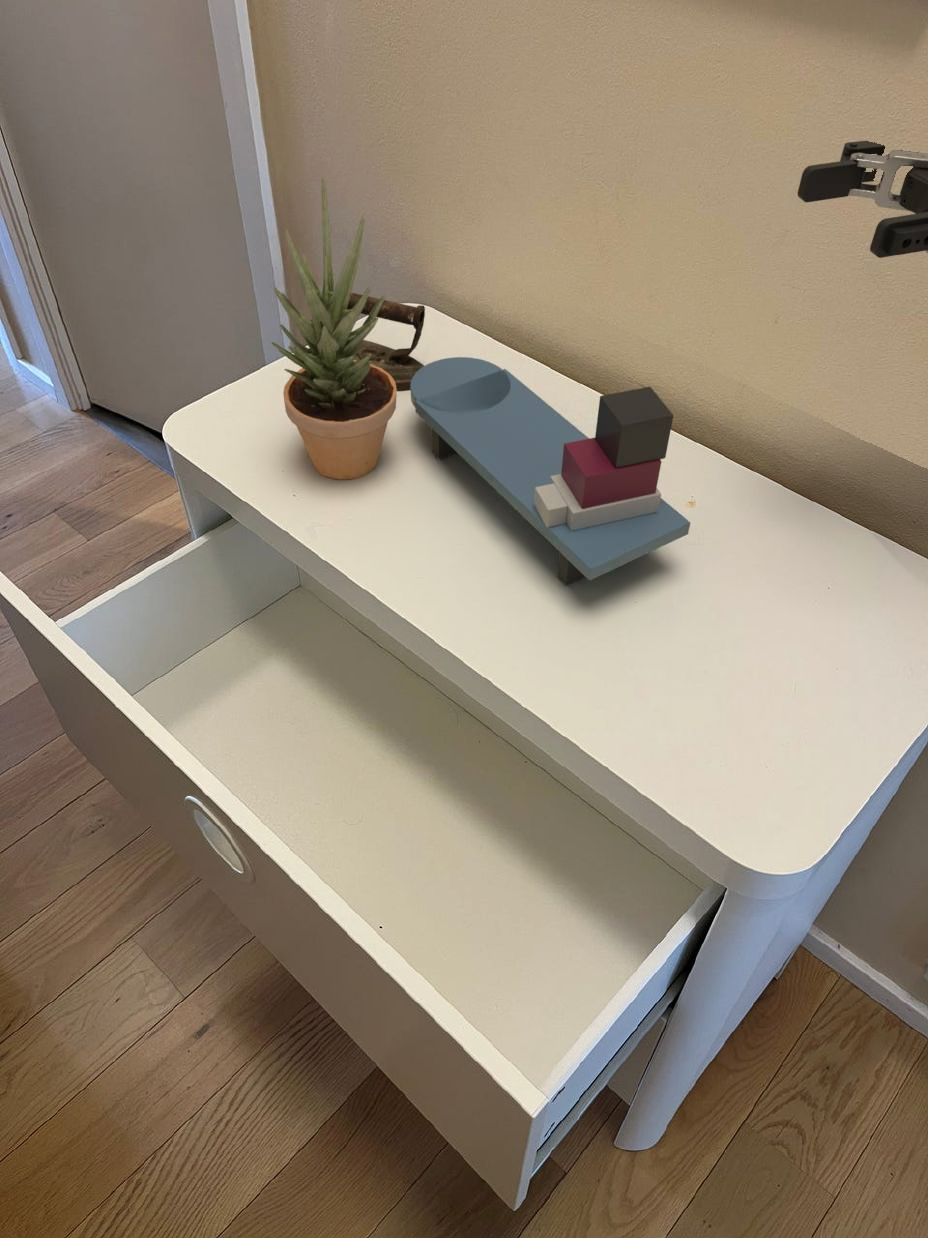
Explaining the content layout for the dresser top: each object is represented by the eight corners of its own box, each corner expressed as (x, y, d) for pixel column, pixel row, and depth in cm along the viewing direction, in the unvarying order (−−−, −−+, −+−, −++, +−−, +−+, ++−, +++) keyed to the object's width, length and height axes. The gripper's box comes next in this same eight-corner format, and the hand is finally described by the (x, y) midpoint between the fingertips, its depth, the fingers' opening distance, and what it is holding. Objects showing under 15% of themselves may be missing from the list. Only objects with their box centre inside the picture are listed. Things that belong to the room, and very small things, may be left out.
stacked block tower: (632, 476, 77) (648, 383, 71) (658, 512, 74) (676, 418, 68) (529, 498, 75) (535, 404, 69) (551, 535, 72) (559, 441, 66)
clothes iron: (338, 349, 100) (355, 259, 93) (438, 391, 99) (463, 303, 92) (310, 379, 95) (326, 286, 88) (416, 423, 94) (440, 333, 87)
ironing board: (680, 570, 77) (690, 522, 73) (584, 616, 73) (591, 569, 69) (477, 391, 94) (478, 345, 90) (392, 422, 90) (389, 376, 86)
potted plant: (418, 472, 85) (406, 190, 67) (318, 505, 82) (277, 219, 64) (371, 413, 91) (348, 140, 73) (276, 442, 88) (228, 164, 70)
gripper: (995, 85, 68) (793, 111, 64) (1153, 162, 59) (926, 196, 55) (956, 193, 73) (767, 222, 70) (1094, 279, 64) (885, 317, 61)
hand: (838, 210), depth 63 cm, fingers open, 8 cm apart
